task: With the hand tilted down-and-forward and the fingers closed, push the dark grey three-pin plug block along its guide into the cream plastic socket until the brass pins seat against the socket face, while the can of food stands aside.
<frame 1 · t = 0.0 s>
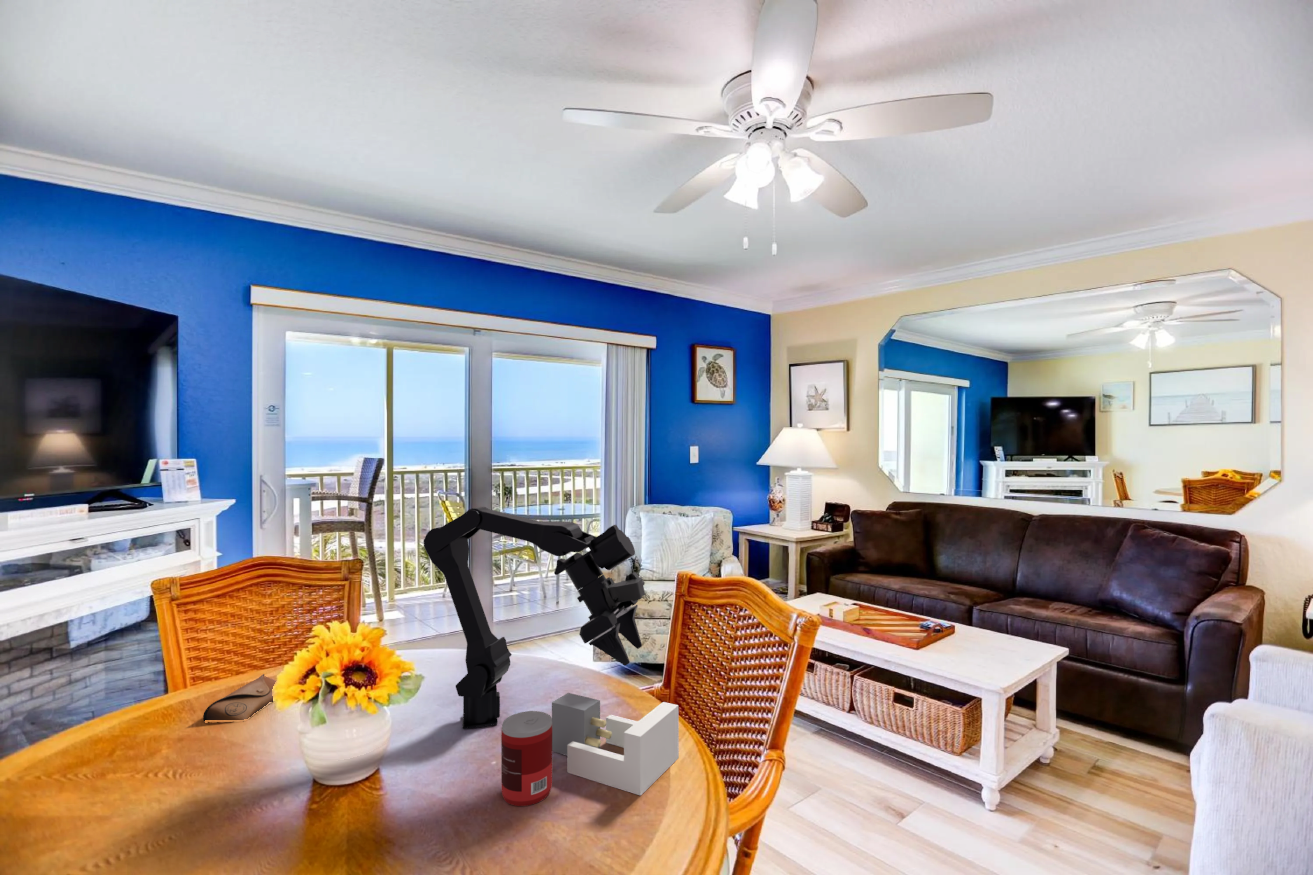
hand: (633, 655, 113), 15 cm above the table, tool tilted 35°, fingers open, 9 cm apart
plug: (581, 726, 107), point 4 cm above the table, slide at 0.0 cm
sunglasses case: (253, 707, 128), on the table
canned food: (527, 793, 95), on the table
socket: (621, 764, 103), on the table
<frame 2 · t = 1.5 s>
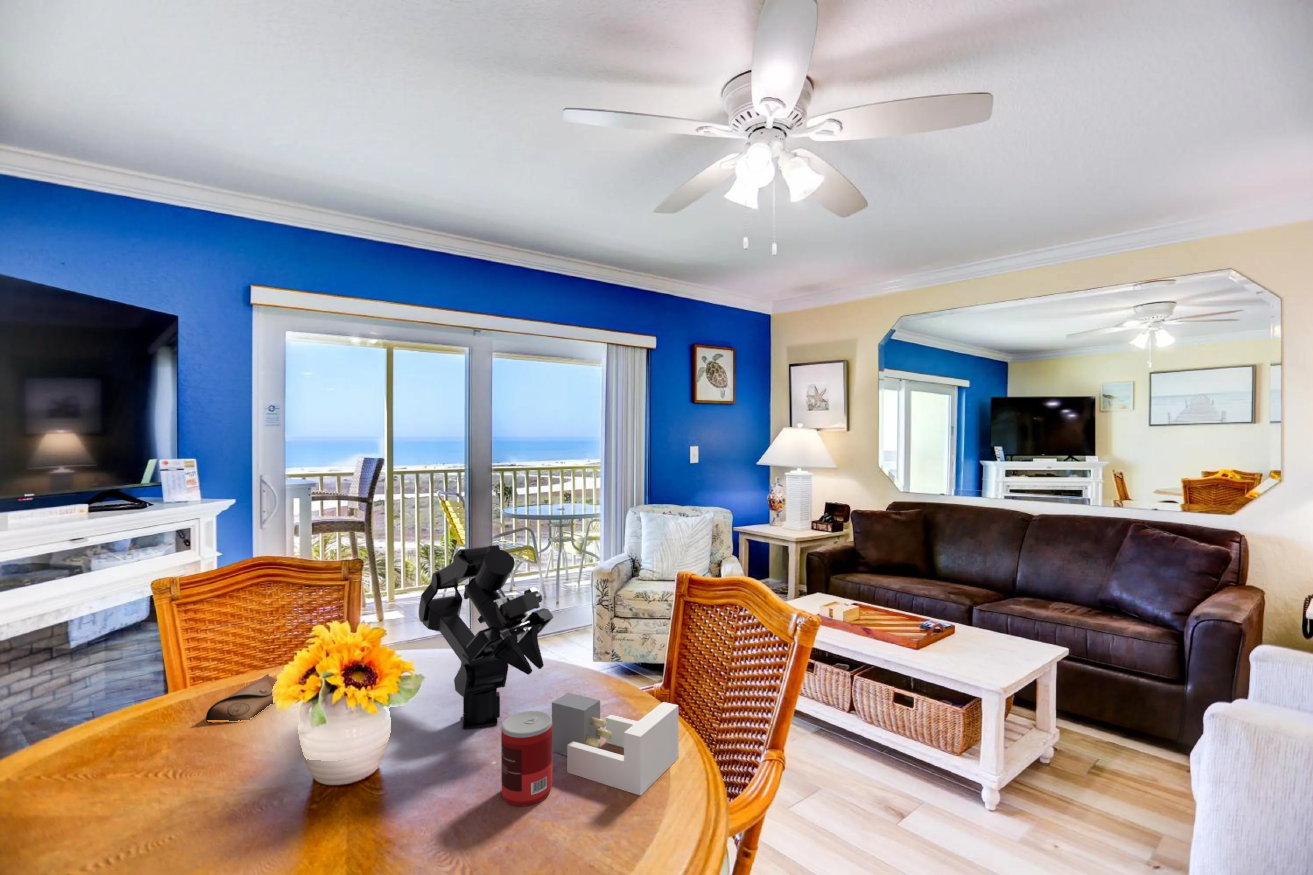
hand: (536, 670, 112), 13 cm above the table, tool tilted 45°, fingers open, 3 cm apart
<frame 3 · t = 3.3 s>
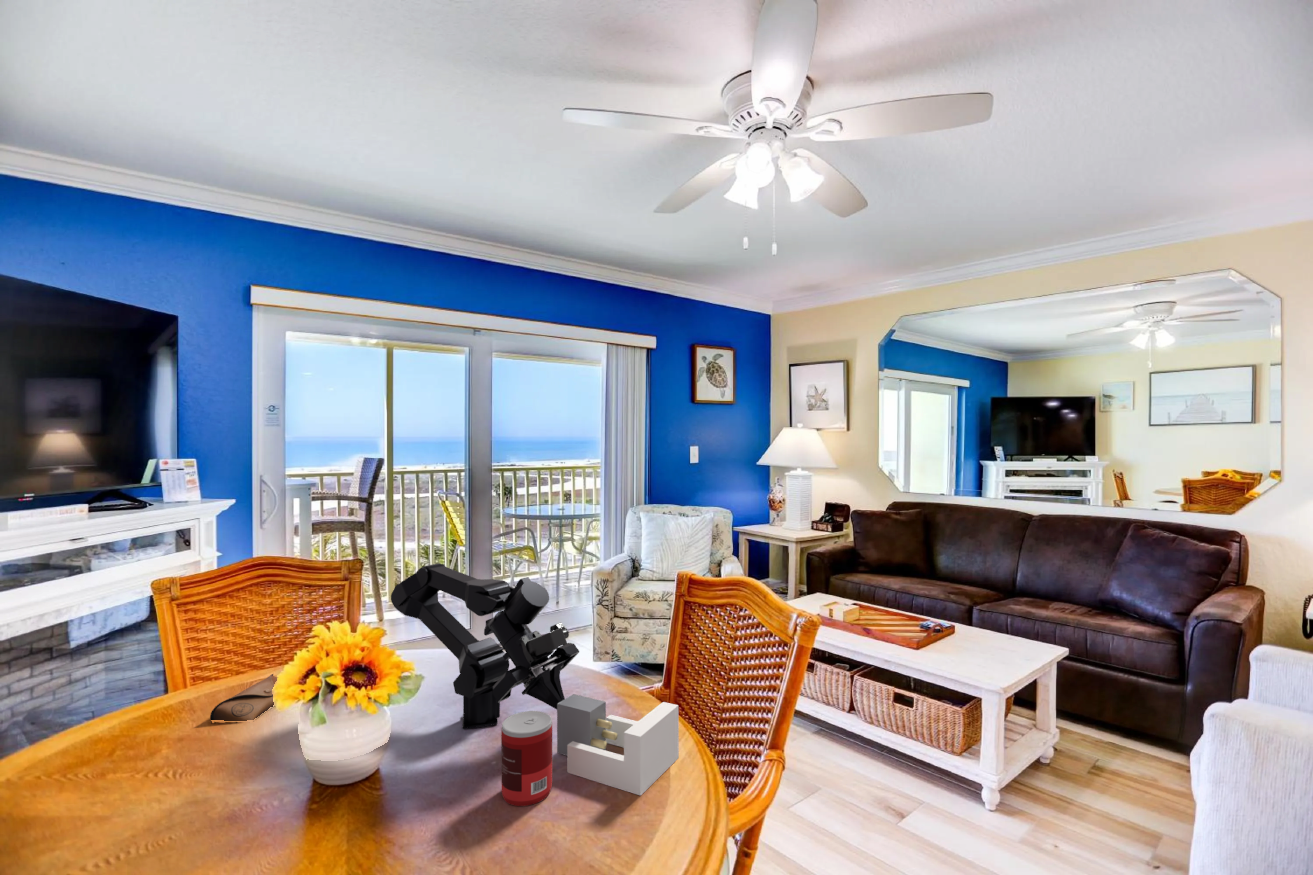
hand: (564, 709, 109), 7 cm above the table, tool tilted 45°, fingers closed, pressing on plug
plug: (587, 728, 106), point 4 cm above the table, slide at 1.2 cm, touching gripper
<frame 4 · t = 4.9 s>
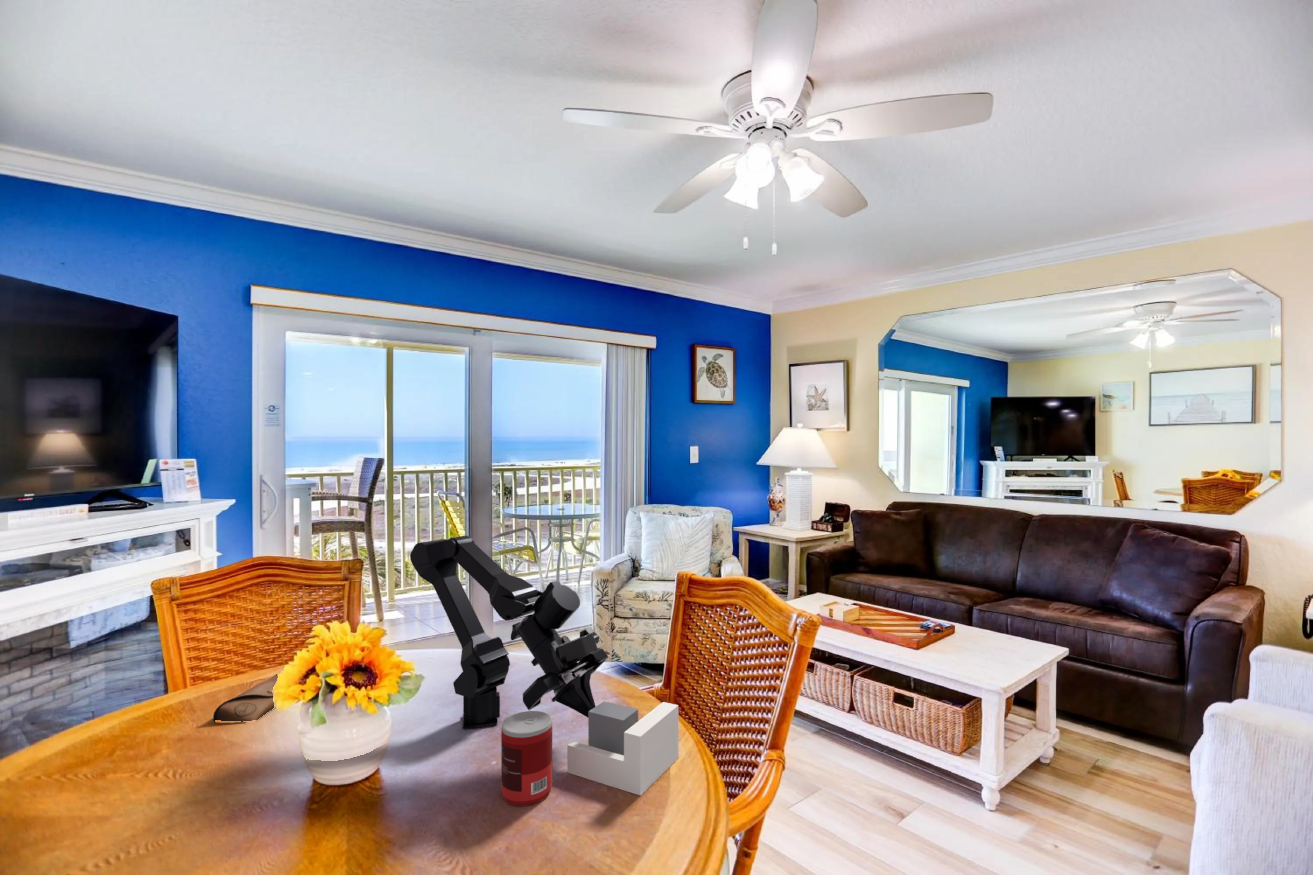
hand: (595, 717, 106), 7 cm above the table, tool tilted 45°, fingers closed, pressing on plug
plug: (619, 737, 103), point 4 cm above the table, slide at 7.9 cm, touching gripper, socket
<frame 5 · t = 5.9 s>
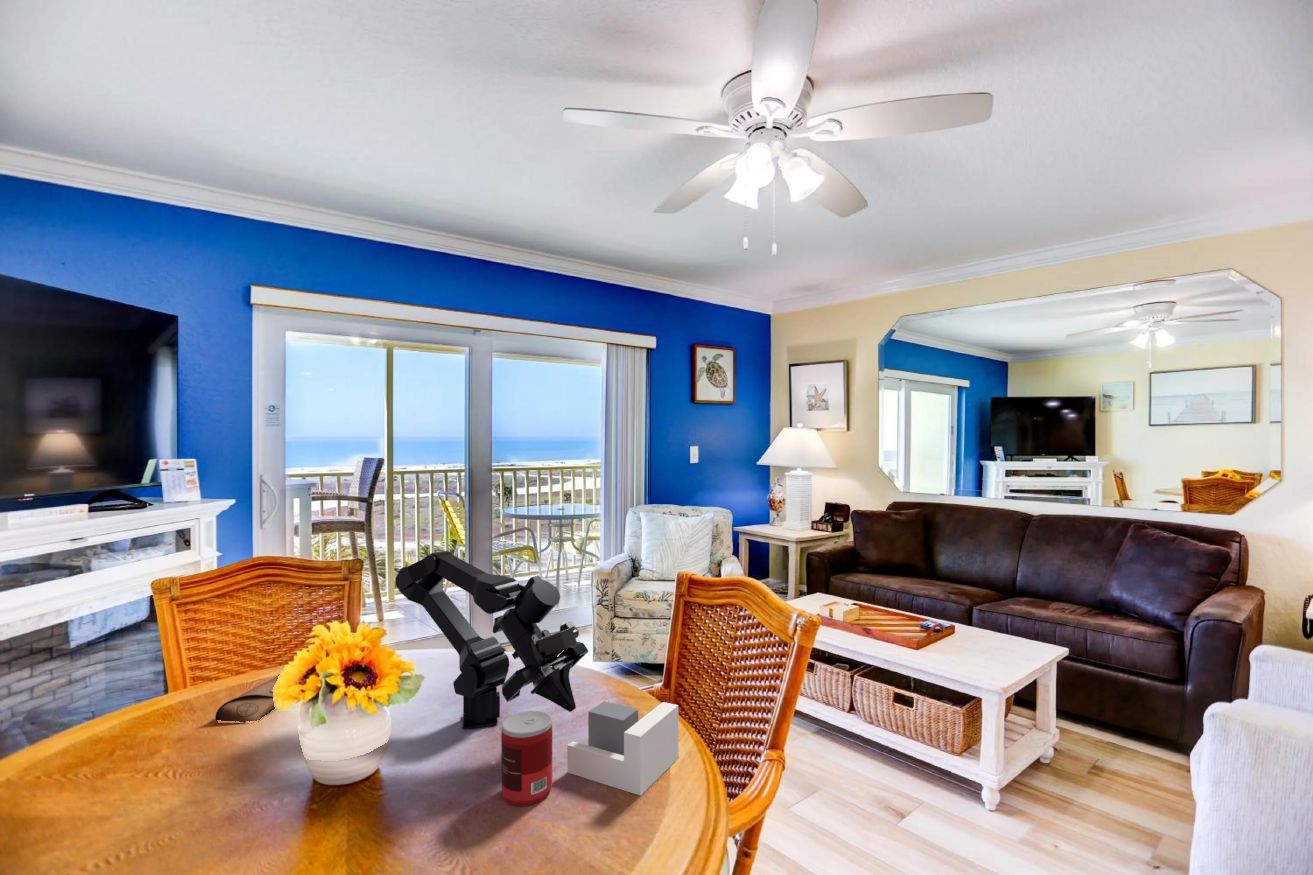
hand: (573, 709, 108), 7 cm above the table, tool tilted 45°, fingers closed
plug: (619, 737, 103), point 4 cm above the table, slide at 7.9 cm, touching socket
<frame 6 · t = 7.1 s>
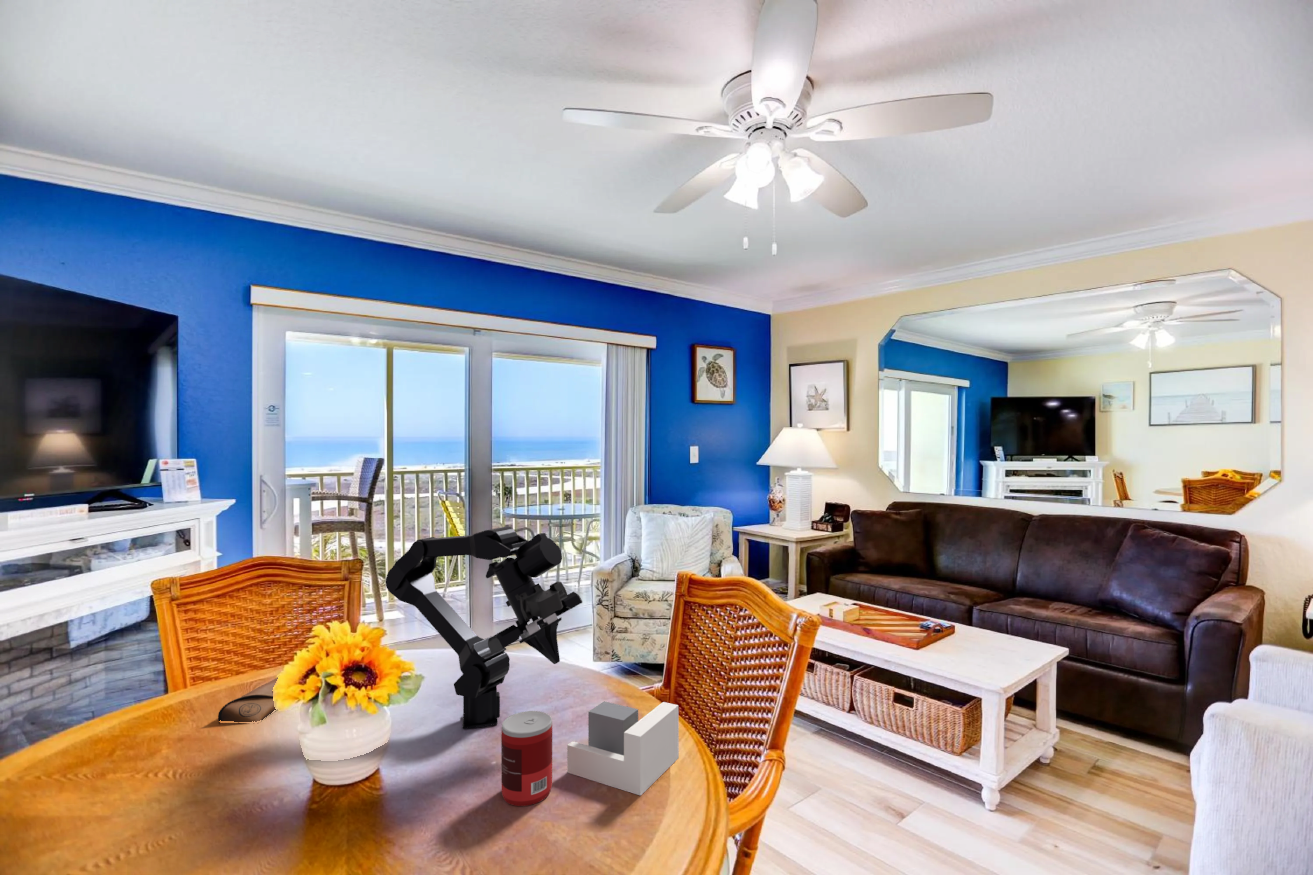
hand: (557, 662, 114), 13 cm above the table, tool tilted 30°, fingers closed
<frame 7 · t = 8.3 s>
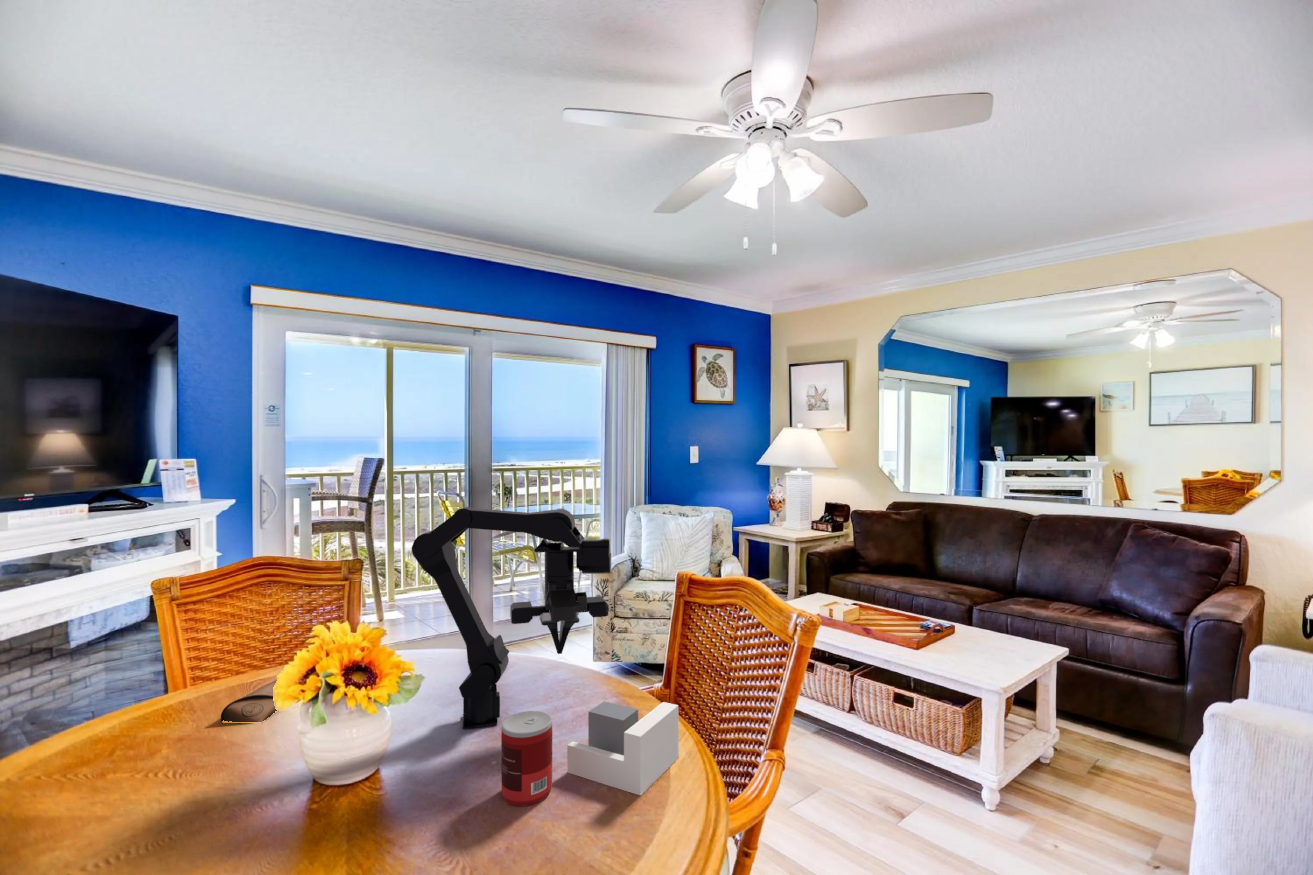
hand: (559, 653, 120), 13 cm above the table, tool pointing down, fingers closed
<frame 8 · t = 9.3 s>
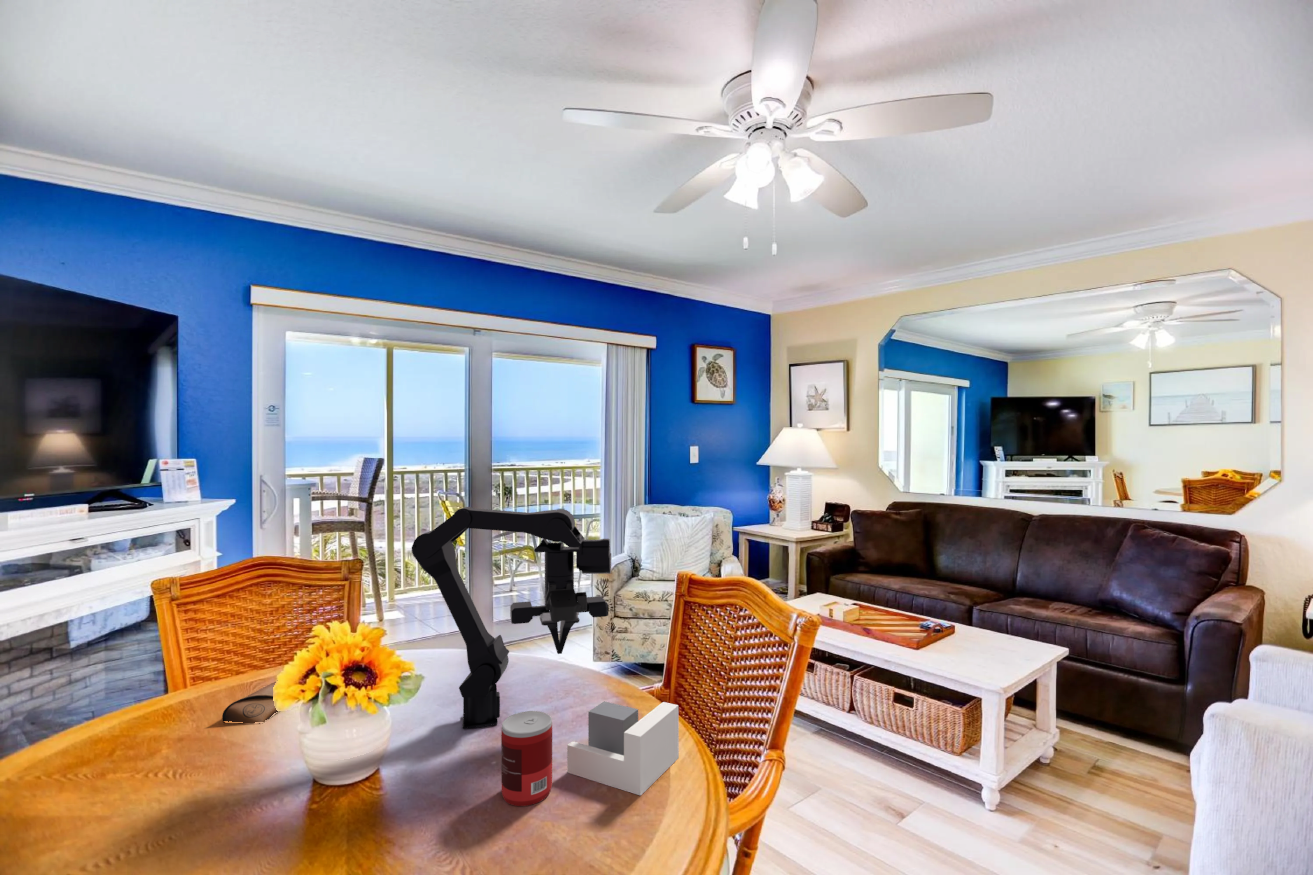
hand: (559, 653, 120), 13 cm above the table, tool pointing down, fingers closed
at the end: plug slide at 7.9 cm; canned food moved 0.2 cm from its start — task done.
